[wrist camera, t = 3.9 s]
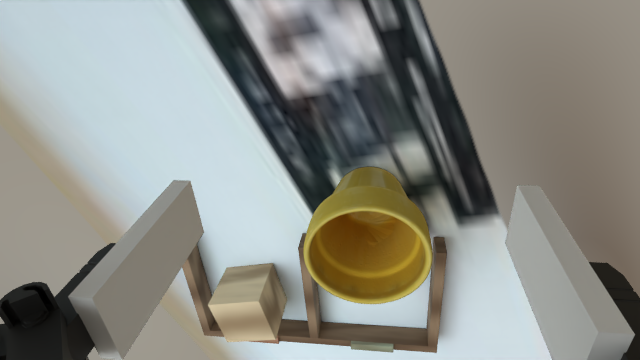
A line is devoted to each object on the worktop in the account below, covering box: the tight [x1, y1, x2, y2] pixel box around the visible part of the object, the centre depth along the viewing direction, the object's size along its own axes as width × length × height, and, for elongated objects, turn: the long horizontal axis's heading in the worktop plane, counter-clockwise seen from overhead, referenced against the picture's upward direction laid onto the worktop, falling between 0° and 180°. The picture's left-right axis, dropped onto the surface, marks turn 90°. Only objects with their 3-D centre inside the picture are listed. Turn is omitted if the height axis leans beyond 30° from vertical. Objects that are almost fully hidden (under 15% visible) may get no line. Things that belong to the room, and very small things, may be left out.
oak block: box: [208, 263, 287, 342], centre depth 46 cm, size 6×6×6 cm
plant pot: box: [303, 167, 433, 304], centre depth 36 cm, size 10×10×10 cm
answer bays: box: [182, 234, 447, 353], centre depth 46 cm, size 15×29×3 cm, turn 94°
